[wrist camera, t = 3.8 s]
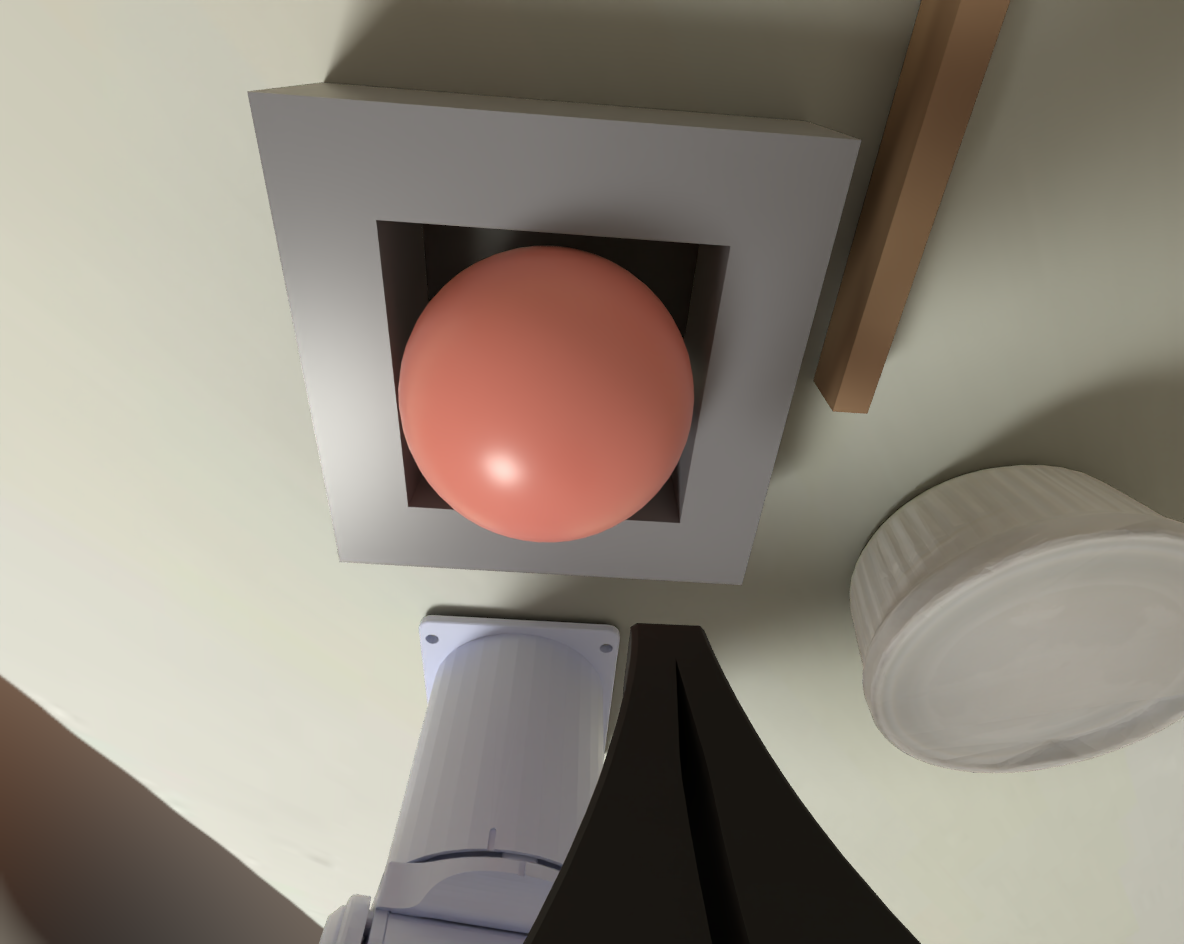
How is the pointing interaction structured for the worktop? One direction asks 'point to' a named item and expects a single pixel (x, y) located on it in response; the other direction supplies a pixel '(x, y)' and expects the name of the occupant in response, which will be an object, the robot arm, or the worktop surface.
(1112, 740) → the ramekin
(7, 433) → the worktop surface
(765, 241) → the base
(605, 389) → the salmon pink ball
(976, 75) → the bent wooden slat
